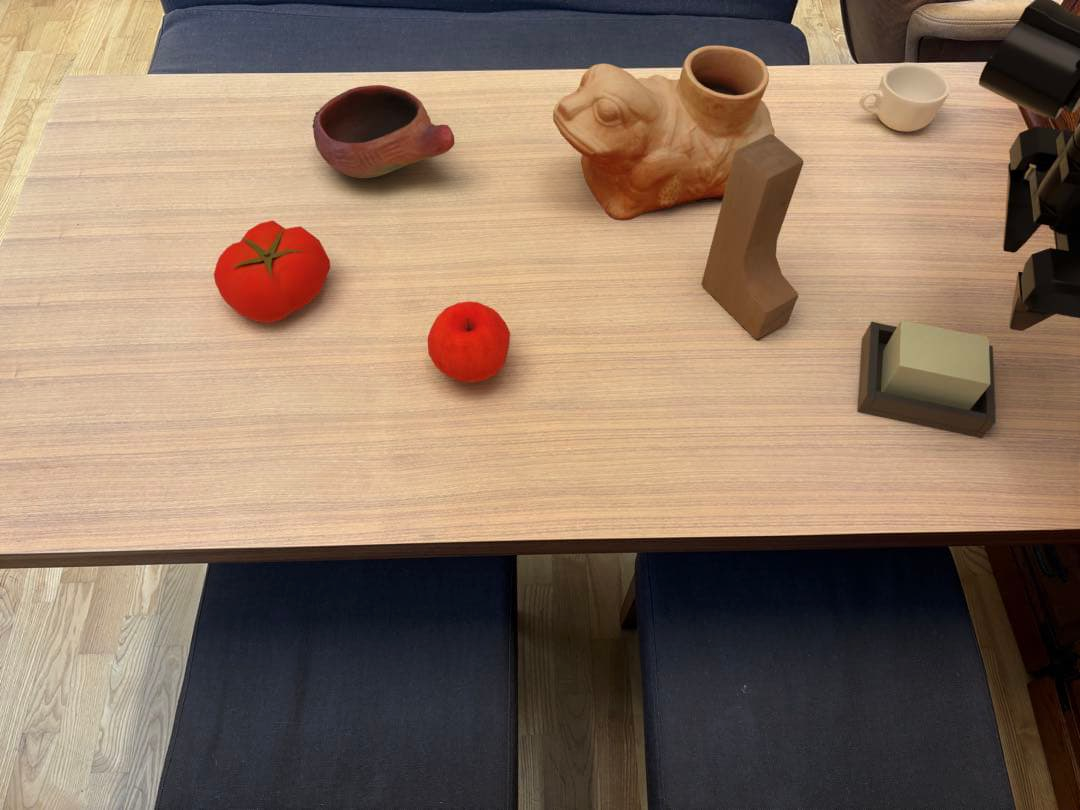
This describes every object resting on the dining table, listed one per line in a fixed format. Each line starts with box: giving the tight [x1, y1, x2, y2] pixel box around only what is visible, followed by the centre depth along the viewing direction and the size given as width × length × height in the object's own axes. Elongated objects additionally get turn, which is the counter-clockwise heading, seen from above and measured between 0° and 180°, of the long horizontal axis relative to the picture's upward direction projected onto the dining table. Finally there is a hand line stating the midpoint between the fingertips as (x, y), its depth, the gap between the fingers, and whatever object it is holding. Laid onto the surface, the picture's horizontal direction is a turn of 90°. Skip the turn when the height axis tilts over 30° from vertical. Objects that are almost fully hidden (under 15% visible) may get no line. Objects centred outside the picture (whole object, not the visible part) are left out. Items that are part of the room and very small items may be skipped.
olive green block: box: [881, 319, 990, 410], centre depth 80 cm, size 8×6×5 cm
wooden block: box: [701, 134, 805, 340], centre depth 81 cm, size 9×4×18 cm, turn 33°
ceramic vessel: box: [552, 45, 776, 221], centre depth 93 cm, size 14×26×15 cm, turn 108°
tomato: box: [213, 219, 331, 323], centre depth 86 cm, size 10×11×6 cm
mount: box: [856, 321, 997, 439], centre depth 82 cm, size 12×9×3 cm
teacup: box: [859, 62, 951, 133], centre depth 102 cm, size 10×8×5 cm
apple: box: [427, 300, 511, 383], centre depth 81 cm, size 8×8×7 cm
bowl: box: [312, 84, 455, 179], centre depth 96 cm, size 16×13×8 cm
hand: (1012, 288), depth 74 cm, fingers open, 9 cm apart
